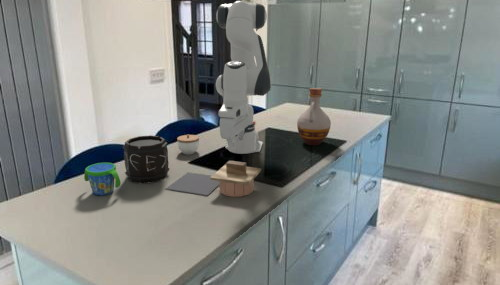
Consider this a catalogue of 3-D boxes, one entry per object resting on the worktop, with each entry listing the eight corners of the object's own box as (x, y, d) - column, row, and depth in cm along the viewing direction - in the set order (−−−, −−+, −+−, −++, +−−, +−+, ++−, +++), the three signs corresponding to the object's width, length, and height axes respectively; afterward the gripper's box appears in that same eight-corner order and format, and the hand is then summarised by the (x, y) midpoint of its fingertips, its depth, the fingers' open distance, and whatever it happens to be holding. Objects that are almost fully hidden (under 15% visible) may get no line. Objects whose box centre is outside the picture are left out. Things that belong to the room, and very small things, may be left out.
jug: (326, 150, 191) (330, 92, 182) (292, 147, 196) (294, 90, 187) (331, 140, 208) (335, 86, 199) (299, 137, 214) (302, 84, 205)
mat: (187, 173, 161) (187, 172, 161) (226, 178, 155) (226, 177, 155) (165, 189, 144) (165, 188, 144) (207, 196, 139) (207, 195, 139)
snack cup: (128, 191, 143) (126, 166, 140) (106, 201, 134) (103, 175, 131) (101, 183, 150) (98, 159, 147) (78, 192, 141) (74, 167, 138)
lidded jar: (195, 156, 181) (194, 138, 179) (174, 155, 183) (173, 136, 181) (202, 149, 191) (201, 132, 189) (182, 148, 193) (181, 131, 191)
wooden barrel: (124, 187, 146) (120, 149, 142) (126, 171, 163) (123, 136, 158) (171, 182, 151) (168, 145, 146) (168, 167, 168) (166, 133, 163)
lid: (225, 166, 152) (225, 154, 150) (260, 170, 147) (261, 158, 146) (210, 179, 138) (209, 167, 137) (248, 185, 134) (248, 172, 132)
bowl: (227, 181, 152) (227, 167, 151) (257, 185, 148) (257, 171, 146) (214, 193, 141) (213, 179, 139) (246, 199, 136) (246, 183, 135)
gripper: (237, 101, 145) (238, 135, 150) (216, 113, 127) (217, 151, 131) (253, 102, 143) (252, 136, 148) (233, 114, 125) (233, 153, 129)
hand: (235, 143), depth 139 cm, fingers open, 8 cm apart
